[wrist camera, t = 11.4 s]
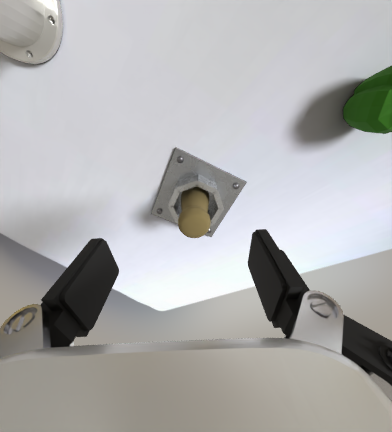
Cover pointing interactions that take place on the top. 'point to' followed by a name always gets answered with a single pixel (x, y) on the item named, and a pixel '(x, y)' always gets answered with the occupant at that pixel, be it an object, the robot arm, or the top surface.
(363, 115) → the bell pepper
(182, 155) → the duct collar
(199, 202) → the cork
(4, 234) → the top surface
